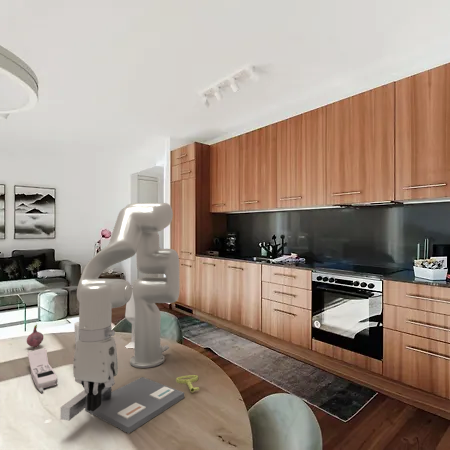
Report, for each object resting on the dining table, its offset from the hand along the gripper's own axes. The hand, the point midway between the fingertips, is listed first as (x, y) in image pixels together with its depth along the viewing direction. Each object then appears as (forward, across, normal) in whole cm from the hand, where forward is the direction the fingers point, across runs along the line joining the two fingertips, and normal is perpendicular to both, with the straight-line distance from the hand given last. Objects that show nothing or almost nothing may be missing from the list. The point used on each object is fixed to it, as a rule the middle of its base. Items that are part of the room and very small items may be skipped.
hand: (94, 407), depth 77 cm
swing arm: (+3, +4, -3) cm, 5 cm away
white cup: (+5, +42, -47) cm, 63 cm away
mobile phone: (+5, +35, -19) cm, 40 cm away
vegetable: (+5, +60, -40) cm, 72 cm away
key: (+5, -14, -27) cm, 31 cm away
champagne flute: (+5, +22, -53) cm, 57 cm away
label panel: (+5, -4, -12) cm, 14 cm away
